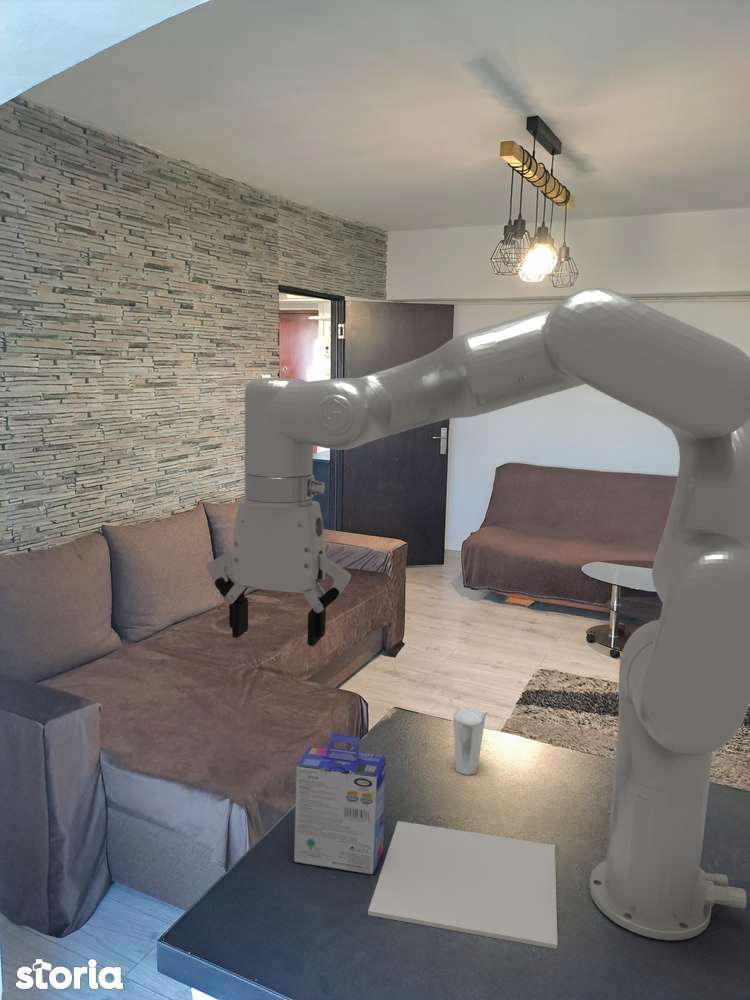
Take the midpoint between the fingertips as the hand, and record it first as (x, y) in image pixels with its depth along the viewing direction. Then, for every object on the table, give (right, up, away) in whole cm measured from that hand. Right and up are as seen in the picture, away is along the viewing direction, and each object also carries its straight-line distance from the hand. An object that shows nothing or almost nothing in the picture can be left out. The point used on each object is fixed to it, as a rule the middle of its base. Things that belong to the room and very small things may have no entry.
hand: (277, 637), depth 87 cm
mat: (+22, -27, -1) cm, 35 cm away
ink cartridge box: (+7, -27, +2) cm, 28 cm away
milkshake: (+25, -24, +23) cm, 41 cm away
